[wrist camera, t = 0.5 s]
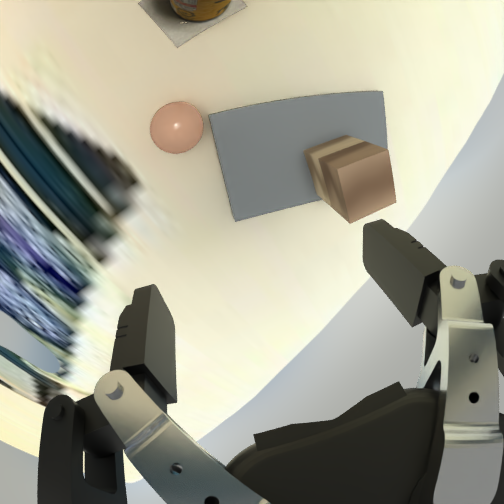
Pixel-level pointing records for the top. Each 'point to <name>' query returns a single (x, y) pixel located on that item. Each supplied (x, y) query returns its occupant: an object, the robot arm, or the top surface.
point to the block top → (358, 180)
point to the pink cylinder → (176, 127)
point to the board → (287, 145)
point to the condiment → (188, 15)
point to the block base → (320, 151)
